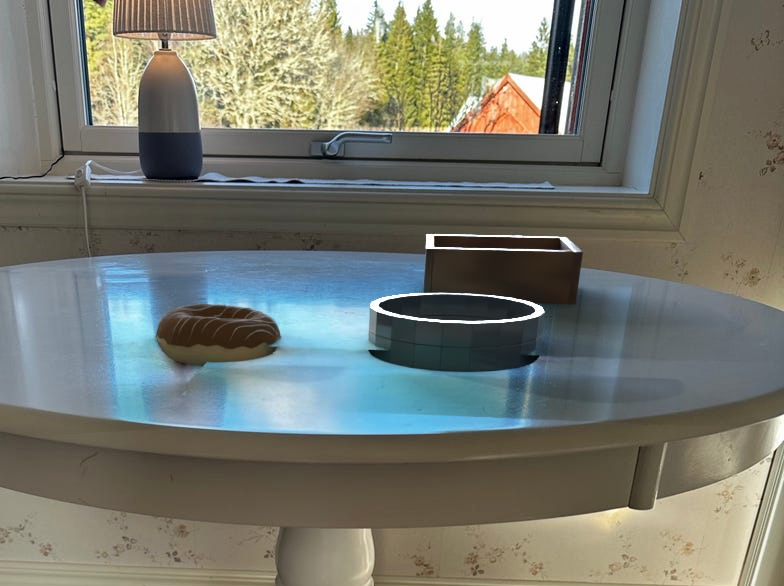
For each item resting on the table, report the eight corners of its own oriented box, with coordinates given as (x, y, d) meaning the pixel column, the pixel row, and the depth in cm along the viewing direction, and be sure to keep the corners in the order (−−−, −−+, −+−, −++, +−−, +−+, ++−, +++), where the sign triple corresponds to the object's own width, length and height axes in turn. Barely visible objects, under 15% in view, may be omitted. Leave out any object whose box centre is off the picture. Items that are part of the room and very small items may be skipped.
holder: (558, 300, 110) (566, 237, 107) (573, 322, 98) (583, 251, 95) (422, 296, 112) (426, 234, 109) (421, 317, 100) (426, 248, 97)
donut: (152, 347, 86) (149, 301, 84) (268, 343, 88) (267, 298, 86) (162, 375, 77) (159, 323, 75) (291, 370, 79) (291, 319, 77)
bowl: (529, 346, 88) (535, 295, 86) (545, 384, 75) (553, 325, 73) (372, 341, 89) (375, 290, 87) (363, 378, 77) (365, 319, 74)
